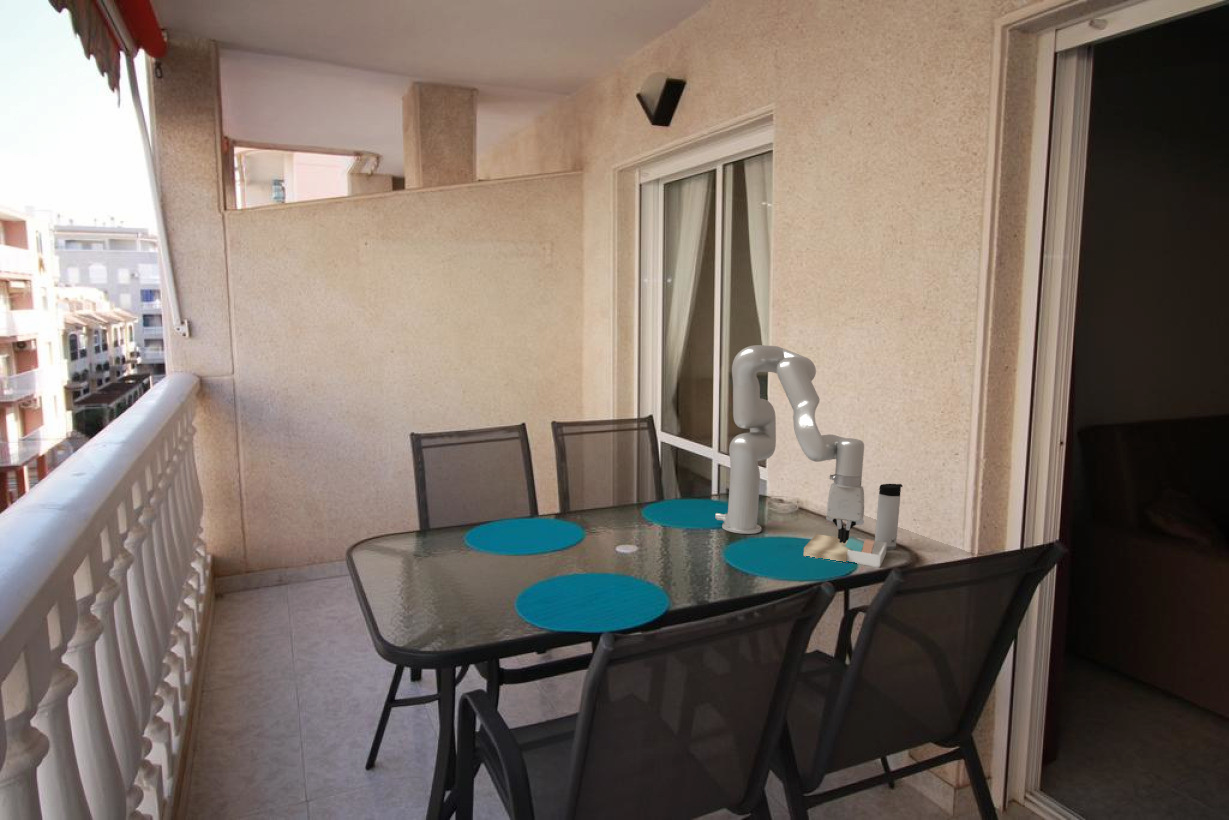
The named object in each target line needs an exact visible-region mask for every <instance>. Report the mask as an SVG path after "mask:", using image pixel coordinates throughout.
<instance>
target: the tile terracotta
mask: <svg viewBox="0 0 1229 820" xmlns="http://www.w3.org/2000/svg"><path fill="white" fill-rule="evenodd" d="M865 539H866V540H865V541H864V545H863V549H862V552H864V553H870V554H872V552H873V548H874V544H875V539H872V538H871V539H870V538H867V537H866V538H865Z"/></svg>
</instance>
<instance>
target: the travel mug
mask: <svg viewBox="0 0 1229 820" xmlns="http://www.w3.org/2000/svg"><path fill="white" fill-rule="evenodd" d="M901 488H903V484H901V483H883V484H880V486H879V489H878V490H879V491H878V501H877V509H876V522H875V523H876V524H875V533H874V534H875V535H874V541H879V542H886V543H887V549H886V551H893V549H894V550H896V547H897V540H898V538H897V537H898V529H899V528H898V526H899V517H900V516H899V515H900V506H901V505H900V504H901Z"/></svg>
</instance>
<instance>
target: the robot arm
mask: <svg viewBox="0 0 1229 820" xmlns="http://www.w3.org/2000/svg"><path fill="white" fill-rule="evenodd" d="M758 373H773V374H776V376H777V378H778V381H780V384H781V386H782V389H783V391H784V393H785V394H786V398H787V400H788V402H789V405H790V406H791V408H792V410H793V413H792V414H793V415H792V420H793V430H794V434H795V436H796V437H795V438H796V441H797V442H798V444H799V446H800V448H801V450H802V452H803V454H804V455H805V457H806V458H807V459H808V460H810V461H812V462H816V463H818V462H824V461H831V460H835V468H834V469H835V472H834V474H829V475H830V476H829V480H832V481H833V483H831V484H830V489H829V493H828V498H827V504H826V517H825V519H826V520H827V521H829V522H832V523H833V524H834V525H835V527H836V528H837V529H838V531H837V537H838V539H840V541H839V542H840V543H842V542H843V543H846V541H847V540H848V539H849V538H850V530H851V529H852V528H854V526H862V525H864V523H865V520H864V514H865V490H864V486H862V477H863V466H864V453H865V443H864V441H863V440H861V439H857V438H851V437H849V438H846V437H842V436H839V435H835V434H821V432H820V430H819V428H818V425H817V423H816V418H815V416H816V410H817V407H818V406H819V404H820V400H821V399H820V395H818V392H817V391H816V388H815V385H814V384H813V382H812V381H813V380H814V379H815V377H816V374H817V368H816V365H815V364H814V362H813V361H812V360H811V359H810V358H808V357H807V356H804V355H802V354H798V353H795V352H793V351H790V350H788V349H786V348H783V347H780V346H776V345H764V344H762V345H761V344H758V345H755V344H754V345H749V346H747V347H745V348H742V349H740V351H738V353H737V354H736V355H735V357H734V359H733V361H732V365H731V374H732V375H731V376H732V415H733V417H732V418H733V422H734V423H735V425H736V426H737V427H738V428H741V429H747V430H748V429H749V432H744V433H740V434H737V435H736V436H734V437H733V438H732V440H730V443H729V446H728V447H729V449H728V452H729V461H730V463H729V464H730V468H729V469H730V473H729V474H730V475H729V491H728V505H727V508H728V509H727V512H726V513H724V514H723V513H718V512H716V513H715V516H714V517H715V519H716V521H723V522H722V526H721V527H722V529H723V530H725V531H727V532H731V533H734V534H743V535H751V534H752V535H753V534H754V535H755V534H759V533H760V532H762V526H761V525H759V524H758V512H759V501H760V500H759V499H760V498H759V497H760V486H761V483H760V482H761V474H760V473H761V471H760V467H759V463H758V462H759V461H760V462H761V461H764V460H767V459H770V458H771V457H773V455H774V453H775V450H776V445H777V432H776V431H777V426H776V425H777V423H776V421H777V420H776V419H777V418H776V412H775V408H774V406H773V405H772V403H771V402H770V401H769V400H768V399H766V398H765V399H764V398H761V394H760V393H761V392H760V391H761V386H760V382H759V378H758V377H757V374H758ZM843 521H846V524H845V526H844V523H843Z"/></svg>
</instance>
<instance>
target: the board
mask: <svg viewBox="0 0 1229 820" xmlns="http://www.w3.org/2000/svg"><path fill="white" fill-rule="evenodd" d="M839 541H840V539H838V536H830V535H825V534H824V535H822V534H815V535H814V536H813V537H812V538H811V539H810V540H809V541H808V543H806V545H805V546H804V547H803V557H806V556H810V557H809V558H812V557H815V558H814V559H818V558H823V559H822V560H824V559H830V560H836V561H843V562H846V561H847V551H848V550H852V549H849V548H847V547H845V545H846V543H847V541H848V540H847V541H846V543H843V542H842V543H840V542H839ZM852 551H853V550H852ZM830 560H829V561H830ZM836 561H835V562H836ZM846 563H847V562H846Z"/></svg>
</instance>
